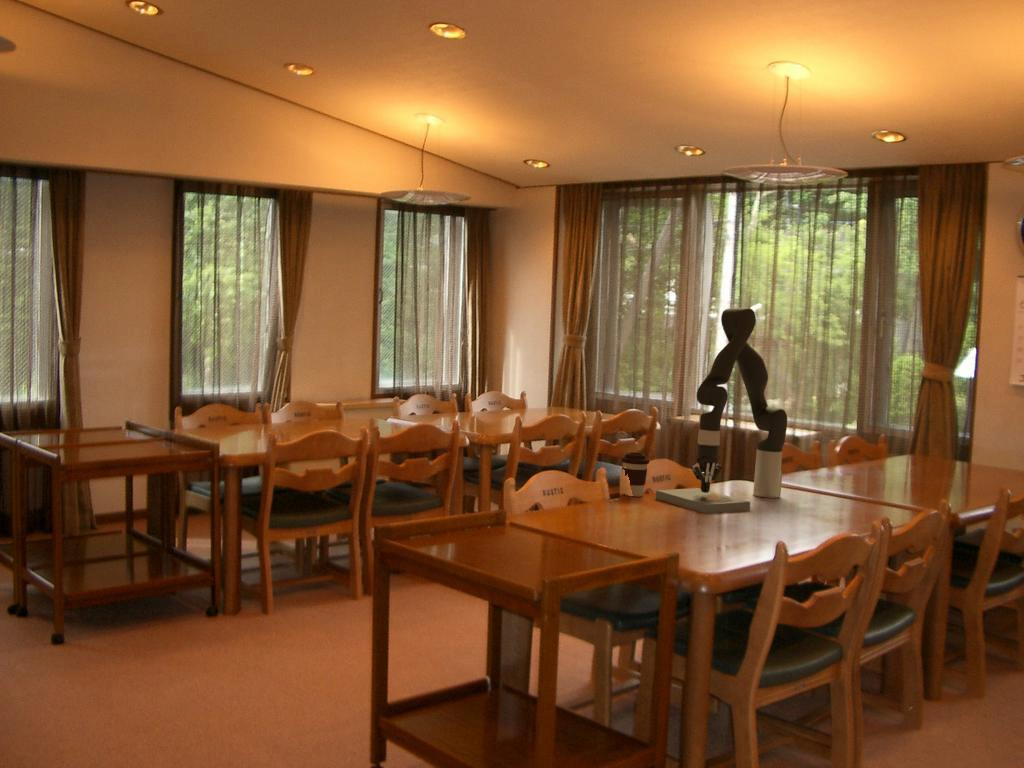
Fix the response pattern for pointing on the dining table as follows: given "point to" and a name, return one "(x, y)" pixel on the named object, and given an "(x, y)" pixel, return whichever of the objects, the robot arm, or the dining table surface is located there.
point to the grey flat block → (702, 501)
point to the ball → (713, 497)
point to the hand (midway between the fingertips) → (704, 492)
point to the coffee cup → (636, 471)
